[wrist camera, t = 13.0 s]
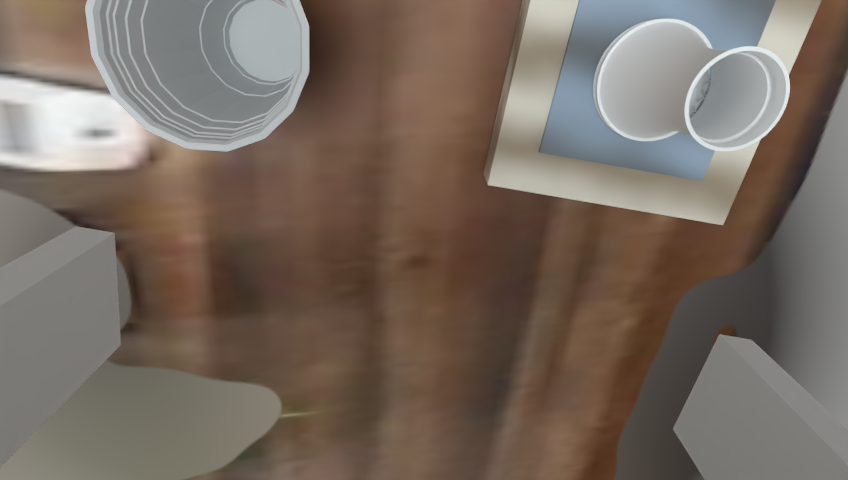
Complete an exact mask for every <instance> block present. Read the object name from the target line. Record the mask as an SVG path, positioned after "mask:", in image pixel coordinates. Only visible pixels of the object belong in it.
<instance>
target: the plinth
mask: <svg viewBox="0 0 848 480" xmlns="http://www.w3.org/2000/svg"><path fill="white" fill-rule="evenodd" d="M820 3H821V0H523V1H522V5H521V9H520V14H519V18H518V23H517V27H516V32H515V36H514V40H513V45H512V49H511V54H510V58H509V62H508V67H507V71H506V76H505V80H504V84H503V89H502V93H501V98H500V102H499V107H498V111H497V115H496V120H495V124H494V129H493V133H492V137H491V142H490V146H489V151H488V155H487V159H486V164H485V168H484V173H483V175H484V177H485V180H486V182H487V185H491V186H497V187H502V188H508V189H514V190H520V191H526V192H532V193H538V194H543V195H549V196H555V197H561V198H567V199H573V200H579V201H584V202H590V203H596V204H602V205H608V206H614V207H620V208H626V209H631V210H637V211H643V212H649V213H655V214H661V215H667V216H672V217H678V218H684V219H690V220H696V221H702V222H708V223H713V224H719V225H723V224H724V222H725V219H726V217H727V215H728V213H729V210H730V208H731V206H732V203H733V201H734V199H735V197H736V194H737V192H738V190H739V188H740V185H741V183H742V181H743V178H744V176H745V174H746V172H747V169H748V167H749V165H750V162H751V160H752V158H753V156H754V153H755V151H756V149H757V146H758V144H759V142H760V140H761V139H760V140H759V141H757V142H755V143H754V144H752V145H750V146H747V147H745V148H742V149H739V150H734V151H715V150H711V149H709V148H706V147H704V146H703V145H701V144H700V143H698V142H697V141H696V140H695V139H694V138H692V137H691V136H689V135H687V134H685V133H682V132H678V133H676V134H674V135H672V136H670V137H667V138H664V139H660V140H656V141H637V140H632V139H629V138H626V137H624V136H622V135H620V134H618V133H617V132H615V131H613V130H612V129H610V128H609V127H608V126H607V125H606V124H605V123H604V122H603V120H602V119H601V117H600V116H599V114H598V112H597V110H596V107H595V104H594V99H593V79H594V74H595V71H596V67H597V65H598V62H599V60H600V58H601V56H602V55H603V53H604V51H605V50H606V49H607V47H608V46H609V45H610V44H611V42H612V41H613V40H614V39H615V38H616V37H617V36H619V35H620V34H621V33H622V32H624V31H625V30H627V29H628V28H630V27H632V26H634V25H636V24H638V23H641V22H644V21H648V20H654V19H677V20H681V21H685V22H687V23H690V24H692V25H693V26H695V27H696V28H698V29H699V30H700V31H701V32H702V33H703V34H704V35H705V36H706V37H707V39H708V40H709V42H710V44H711V46H712V48H713V49H715V50H729V49H734V48H738V47H745V46H755V47H761V48H764V49H767V50H769V51H771V52H772V53H774V54H775V55H777V56H778V57H779V58H780V59H781V61H782V62H783V63H784V65H785V67H786V69H787V72H788V75H789V73H790V71H791V69H792V67H793V64H794V62H795V60H796V57H797V55H798V53H799V51H800V48H801V46H802V44H803V42H804V39H805V37H806V35H807V32H808V30H809V28H810V26H811V23H812V21H813V19H814V16H815V14H816V12H817V10H818V7H819V5H820ZM704 43H705V42H704ZM762 61H763V60H762ZM710 76H711V78H712V66H711V67H710ZM709 80H711V79H709ZM710 84H711V82H709V83H708V86H707V89H706V92H705V94H706V96H707V93H708V91H709V87H710ZM706 96H704V97H705V98H706ZM704 100H705V99H704ZM704 100H702V101H701V102H700V104H699V106H698V107H697V109H696V111H698V109H699V108H700V107H701V105H702V103H703V102H704ZM694 113H696V112H694ZM692 116H694V115H692ZM692 116H690V118H691V117H692ZM658 137H659V136H658Z"/></svg>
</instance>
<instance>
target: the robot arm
mask: <svg viewBox="0 0 848 480" xmlns="http://www.w3.org/2000/svg"><path fill="white" fill-rule="evenodd" d="M120 345H121V340H120V322H119V304H118V287H117V269H116V250H115V233H112V232H106V231H100V230H94V229H88V228H82V227H74V228H72V229H70V230H69V231H67V232H65V233H63V234H61V235H60V236H58V237H56V238H54V239H52V240H50V241H49V242H47V243H45V244H43V245H41V246H40V247H38V248H36V249H34V250H32V251H30V252H29V253H27V254H25V255H23V256H21V257H19V258H18V259H16V260H14V261H12V262H10V263H8V264H7V265H5V266H3V267H1V268H0V467H1V466H2V465H3V464H4V463H5V462H6V461H7V460H8V459H9V458H10V457H11V456H12V455H13V454H14V453H15V452H16V451H17V450H18V449H19V448H20V447H21V446H22V445H23V444H24V443H25V442H26V441H27V440H28V439H29V438H30V436H32V435H33V434H34V433H35V432H36V431H37V430H38V428H39V427H41V426H42V425H43V423H44V422H45V421H46V420H47V419H48V418H49V417H50V416H51V415H52V414H53V413H54V412H55V411H56V410H57V409H58V408H59V407H60V406H61V405H62V404H63V403H64V402H65V401H66V400H67V399H68V398H69V397H70V396H71V395H72V394H73V393H74V392H75V391H76V390H77V389H78V388H79V387H80V386H81V385H82V384H83V383H84V382H85V381H86V380H87V379H88V378H89V377H90V376H91V375H92V374H93V373H94V372H95V370H96V369H97V368H98V367H99V366H100V365H101V364H102V363H103V362H104V361H105V360H106V359H107V358H108V357H109V356H110V355H111V354H112V353H113V352H114V351H115V350H116V349H117V348H118V347H119V346H120ZM673 430H674V431H675V433H676V434H677V436H678V438H679V439H680V441H681V442H682V444H683V446H684V447H685V449H686V450H687V452H688V453H689V455H690V457H691V458H692V460H693V461H694V463H695V464H696V466H697V468H698V470H699V471H700V473H701V474H702V476H703V477H704V479H705V480H848V429H847V428H845V427H844V426H843V425H842V424H841V423H840V422H839V421H838V420H837V419H836V418H835V417H834V416H833V415H832V414H830V413H829V412H828V411H827V410H826V409H825V408H824V407H823V406H822V405H821V404H820V403H819V402H817V400H815V399H814V398H813V397H812V396H811V395H810V394H809V393H808V392H807V391H806V390H805V389H804V388H803V387H802V386H800V385H799V384H798V383H797V382H796V381H795V380H794V379H793V378H792V377H791V376H790V375H789V374H788V373H786V372H785V371H784V370H783V369H782V368H781V367H780V366H779V365H778V364H777V363H776V362H775V361H774V360H773V359H771V358H770V357H769V356H768V355H767V354H766V353H765V352H764V351H763V350H762V349H761V348H760V347H759V346H758V345H756V344H755V343H754V342H753V341H752V340H750V339H743V338H738V337H732V336H726V335H720V334H719V336H718V338H717V340H716V342H715V344H714V346H713V348H712V350H711V352H710V355H709V356H708V358H707V360H706V363H705V365H704V367H703V369H702V371H701V373H700V375H699V377H698V379H697V381H696V383H695V385H694V387H693V389H692V391H691V393H690V395H689V397H688V399H687V401H686V404H685V405H684V407H683V410H682V411H681V414H680V416H679V418H678V420H677V422H676V424H675V426H674V428H673Z"/></svg>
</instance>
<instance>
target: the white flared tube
mask: <svg viewBox="0 0 848 480" xmlns="http://www.w3.org/2000/svg"><path fill="white" fill-rule="evenodd" d="M704 42H705V43H704ZM762 60H763V61H762ZM711 66H712V78H711V76H710V67H711ZM709 79H711V80H709ZM709 82H711V84H710V87H709V91H708V93H707V96H706V94H705V92H706V89H707V86H708V83H709ZM789 93H790V80H789V75H788V72H787V69H786V67H785V65H784V63H783V62H782V61H781V59H780V58H779V57H778V56H777V55H775V54H774V53H772V52H771V51H769V50H767V49H764V48H761V47H755V46H745V47H738V48H734V49H729V50H715V49H713V48H712V46H711V44H710V42H709V40H708V39H707V37H706V36H705V35H704V34H703V33H702V32H701V31H700V30H699V29H698V28H696V27H695V26H693V25H692V24H690V23H687V22H685V21H681V20H677V19H654V20H648V21H644V22H641V23H638V24H636V25H634V26H632V27H630V28H628V29H627V30H625V31H624V32H622V33H621V34H620V35H619V36H617V37H616V38H615V39H614V40H613V41H612V42H611V44H610V45H609V46H608V47H607V49H606V50H605V51H604V53H603V55H602V56H601V58H600V60H599V62H598V65H597V67H596V71H595V74H594V79H593V99H594V104H595V107H596V110H597V112H598V114H599V116H600V117H601V119H602V120H603V122H604V123H605V124H606V125H607V126H608V127H609V128H610V129H612V130H613V131H615V132H617V133H618V134H620V135H622V136H624V137H626V138H629V139H632V140H637V141H656V140H660V139H664V138H667V137H670V136H672V135H674V134H676V133H678V132H682V133H685V134H687V135H689V136H691V137H692V138H694V139H695V140H696V141H697V142H698V143H700V144H701V145H703V146H704V147H706V148H709V149H711V150H715V151H734V150H739V149H742V148H745V147H747V146H750V145H752V144H754V143H755V142H757V141H759V140H760V139H761V138H763V137H764V136H765V135H766V134H767V133H769V132H770V131H771V129H772V128H773V127H774V126H775V125H776V124H777V122H778V121H779V119H780V118H781V116H782V114H783V112H784V110H785V108H786V105H787V102H788V98H789ZM704 96H706V98H705V97H704ZM704 99H705V100H704ZM702 100H704V102H703V103H702V105H701V107H700V108H699V109H698V111H696V109H697V107H698V106H699V104H700V102H701V101H702ZM694 112H696V113H694ZM692 115H694V116H692ZM690 116H692V117H691V118H690ZM658 136H659V137H658Z"/></svg>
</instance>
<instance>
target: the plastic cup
mask: <svg viewBox="0 0 848 480" xmlns="http://www.w3.org/2000/svg"><path fill="white" fill-rule="evenodd" d="M85 11H86V19H87V26H88V34H89V41H90V49H91V56H92V58H93V60H94V62H95V64H96V66H97V68H98V69H99V71H100V73H101V75H102V77H103V79H104V81H105V83H106V85H107V87H108V89H109V91H110V93H111V95H112V97H113V98H114V99H115V100H116V101H117V102H118V103H119V104H120V105H121V106H122V107H123V108H124V109H125V110H126V111H127V112H128V113H129V114H130V115H131V116H132V117H133V118H134V119H135V120H136V121H137V122H139V123H140V124H141V125H142V126H143V127H144V128H145V129H146V130H147V131H149V132H151V133H153V134H156V135H158V136H160V137H162V138H164V139H166V140H169V141H171V142H173V143H175V144H177V145H179V146H182V147H184V148H186V149H197V150H212V151H227V152H228V151H231V150H233V149H236V148H239V147H242V146H245V145H248V144H251V143H253V142H256V141H259V140H262V139H265V138H266V137H267V136H268V135H269V134H270V133H271V132H272V131H273V130H274V129H275V128H276V127H277V126H278V125H279V124H280V123H281V122H282V121H284V120H285V119H286V118H287V117H288V116H289V115H290V114H291V113H292V112H293V111H294V108H295V106H296V103H297V101H298V99H299V96H300V94H301V91H302V89H303V86H304V84H305V81H306V79H307V76H308V74H309V24H308V21H307V19H306V16H305V13H304V11H303V8H302V6H301V3H300V0H87V4H86V7H85Z"/></svg>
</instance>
